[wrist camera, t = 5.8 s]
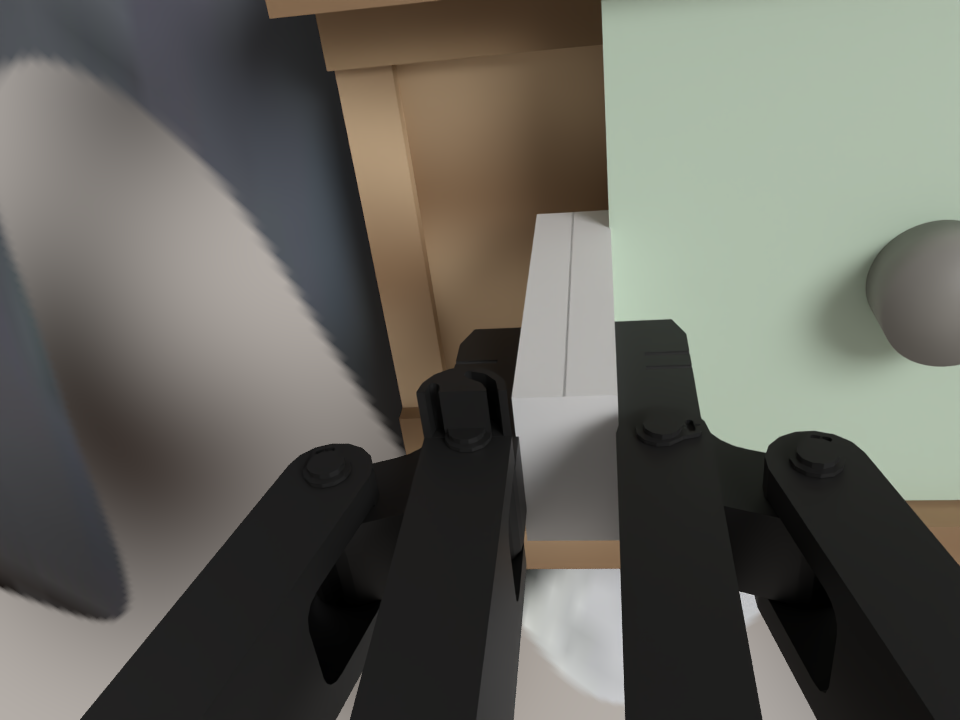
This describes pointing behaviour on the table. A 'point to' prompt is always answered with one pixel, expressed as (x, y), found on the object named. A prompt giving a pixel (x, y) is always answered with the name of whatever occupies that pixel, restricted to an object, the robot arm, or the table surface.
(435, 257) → the oak box
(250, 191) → the table surface
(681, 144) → the cover plate
